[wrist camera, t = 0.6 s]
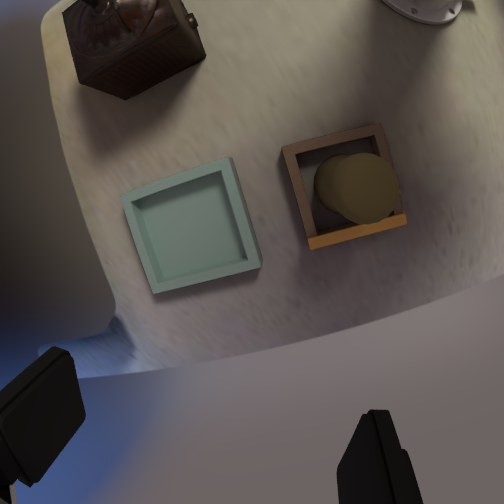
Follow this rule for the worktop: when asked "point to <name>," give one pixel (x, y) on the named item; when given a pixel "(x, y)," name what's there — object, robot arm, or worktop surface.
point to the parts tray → (192, 227)
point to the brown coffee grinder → (131, 43)
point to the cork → (357, 187)
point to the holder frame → (313, 237)
